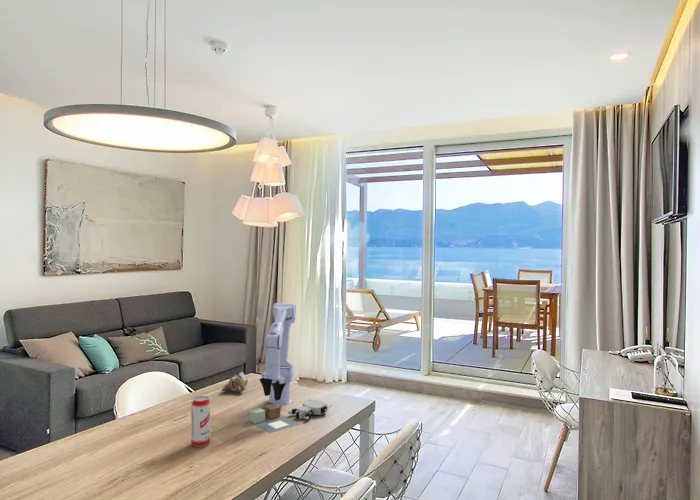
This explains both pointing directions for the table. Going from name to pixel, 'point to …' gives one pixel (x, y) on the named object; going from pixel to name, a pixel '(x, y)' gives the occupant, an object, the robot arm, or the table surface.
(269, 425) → the board
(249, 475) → the table surface
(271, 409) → the walnut block
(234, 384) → the ceramic sculpture
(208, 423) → the beer can
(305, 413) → the robot toy
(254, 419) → the sage block
